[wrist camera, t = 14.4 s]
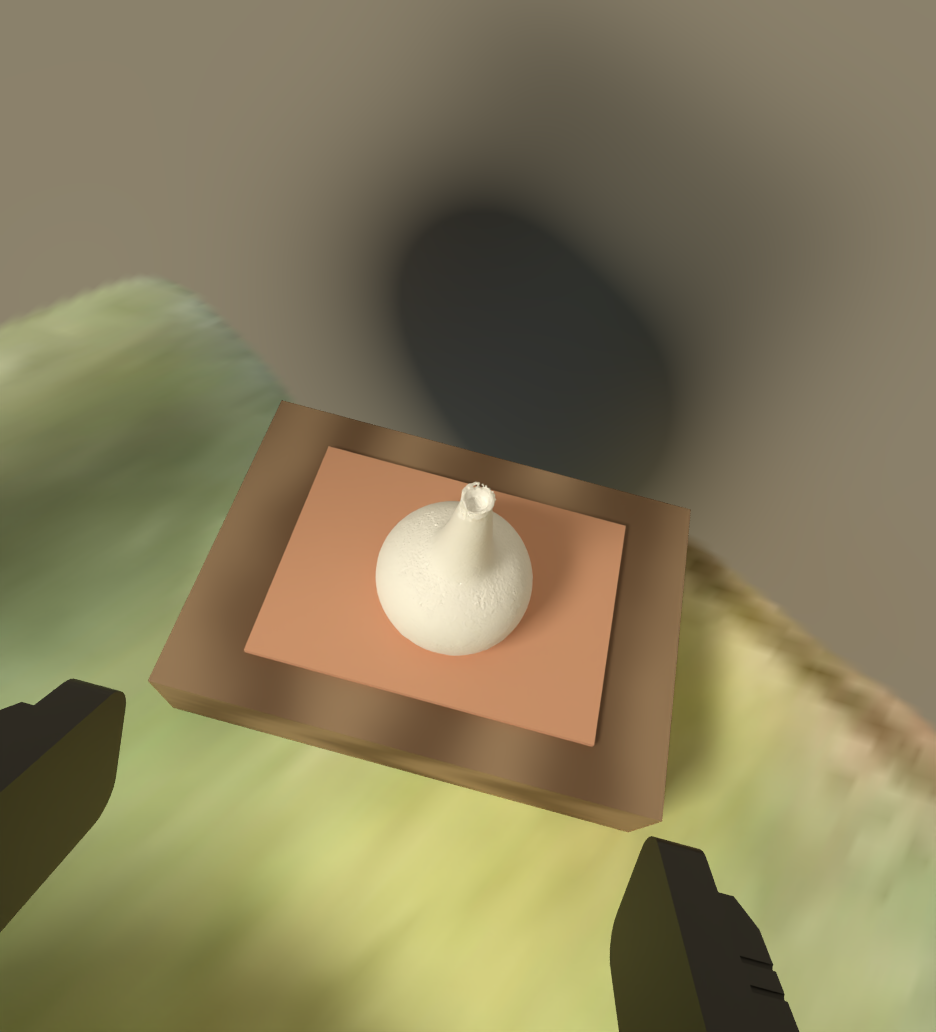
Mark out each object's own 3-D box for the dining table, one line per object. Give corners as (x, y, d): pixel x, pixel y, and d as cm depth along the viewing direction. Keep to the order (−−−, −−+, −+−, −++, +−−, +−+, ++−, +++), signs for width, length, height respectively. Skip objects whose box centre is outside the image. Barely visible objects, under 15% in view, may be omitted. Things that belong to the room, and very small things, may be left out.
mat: (244, 652, 28) (243, 649, 28) (328, 449, 33) (328, 446, 33) (592, 746, 28) (593, 745, 27) (623, 528, 33) (625, 525, 32)
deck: (173, 707, 30) (147, 680, 27) (289, 447, 37) (281, 400, 34) (628, 832, 30) (661, 821, 27) (660, 547, 37) (690, 509, 34)
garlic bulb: (347, 611, 29) (326, 536, 22) (428, 496, 32) (433, 394, 25) (479, 692, 28) (502, 641, 21) (552, 566, 31) (595, 482, 24)
